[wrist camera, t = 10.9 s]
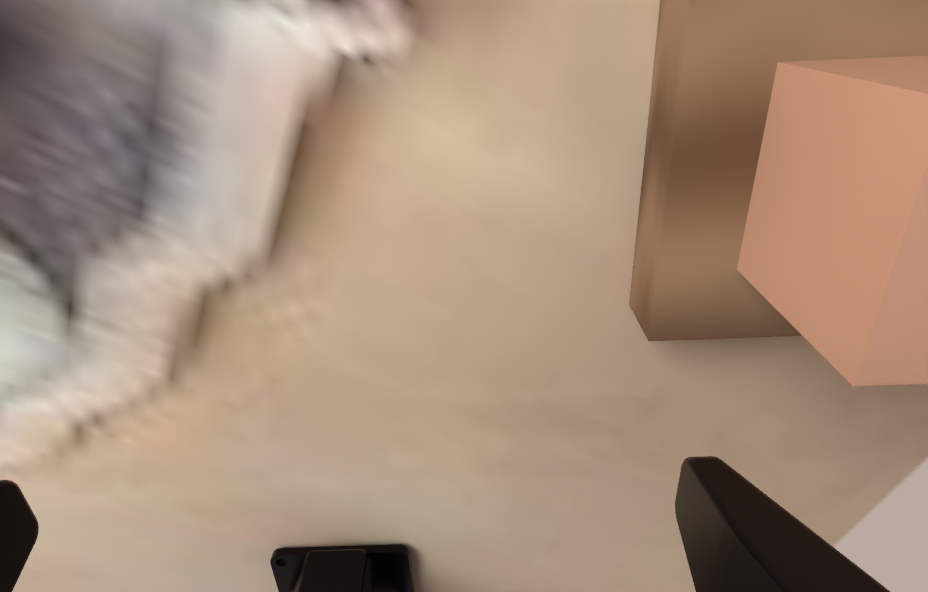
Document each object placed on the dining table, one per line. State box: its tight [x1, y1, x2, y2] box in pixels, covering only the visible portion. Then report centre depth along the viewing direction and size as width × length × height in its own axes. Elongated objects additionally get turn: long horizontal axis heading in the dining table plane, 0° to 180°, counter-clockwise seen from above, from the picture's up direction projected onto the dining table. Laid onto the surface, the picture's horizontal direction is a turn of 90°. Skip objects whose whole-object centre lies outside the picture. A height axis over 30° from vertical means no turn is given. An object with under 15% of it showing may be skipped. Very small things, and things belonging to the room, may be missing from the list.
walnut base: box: [630, 0, 928, 341], centre depth 17 cm, size 11×11×2 cm
